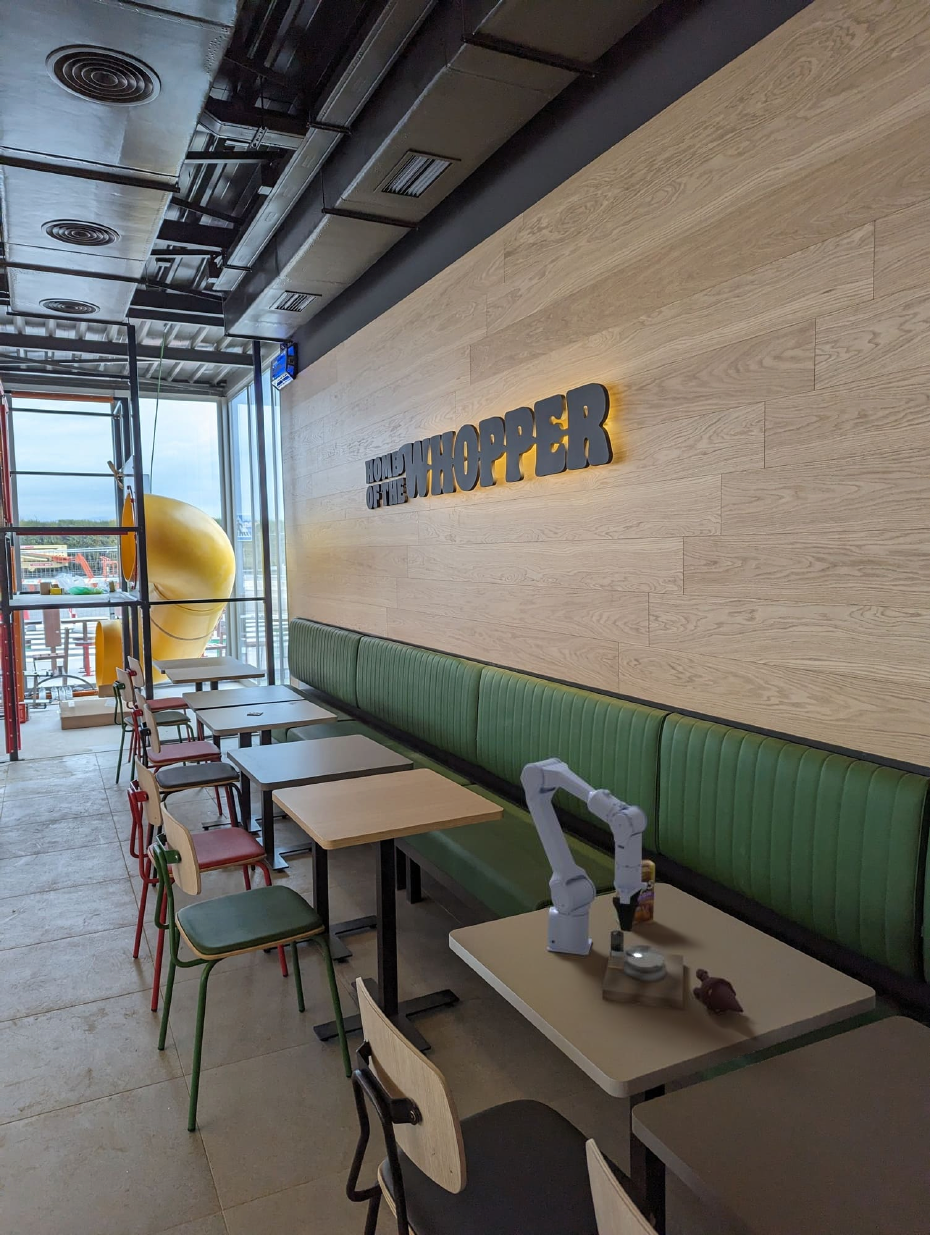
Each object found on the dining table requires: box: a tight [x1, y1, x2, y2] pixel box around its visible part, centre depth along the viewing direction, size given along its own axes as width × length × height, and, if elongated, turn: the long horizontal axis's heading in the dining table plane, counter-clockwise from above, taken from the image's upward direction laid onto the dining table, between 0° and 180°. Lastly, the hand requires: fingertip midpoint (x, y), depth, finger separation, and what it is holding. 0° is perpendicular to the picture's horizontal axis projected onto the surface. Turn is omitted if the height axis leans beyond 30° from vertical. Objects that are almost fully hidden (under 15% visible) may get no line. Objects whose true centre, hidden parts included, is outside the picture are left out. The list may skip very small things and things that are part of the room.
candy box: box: [614, 859, 656, 926], centre depth 208 cm, size 9×4×15 cm, turn 102°
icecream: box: [692, 968, 744, 1015], centre depth 166 cm, size 7×7×15 cm
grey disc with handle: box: [610, 929, 664, 973], centre depth 179 cm, size 11×8×6 cm
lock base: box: [601, 949, 684, 1011], centre depth 178 cm, size 16×20×4 cm
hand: (627, 923), depth 183 cm, fingers open, 7 cm apart
